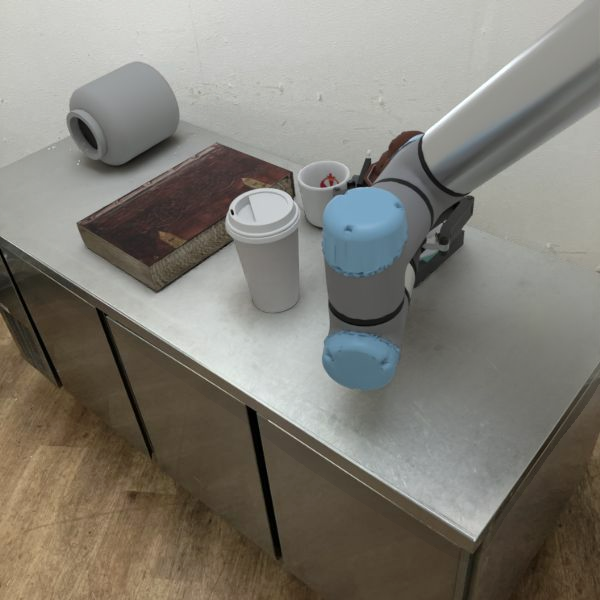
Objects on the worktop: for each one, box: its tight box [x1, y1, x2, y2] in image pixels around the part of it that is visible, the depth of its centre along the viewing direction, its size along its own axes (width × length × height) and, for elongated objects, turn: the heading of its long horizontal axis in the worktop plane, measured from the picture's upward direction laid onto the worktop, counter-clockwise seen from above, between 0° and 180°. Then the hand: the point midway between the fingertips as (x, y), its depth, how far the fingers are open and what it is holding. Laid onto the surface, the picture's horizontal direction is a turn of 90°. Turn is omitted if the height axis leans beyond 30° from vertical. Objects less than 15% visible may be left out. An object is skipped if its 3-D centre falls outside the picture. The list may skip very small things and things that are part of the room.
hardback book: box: [76, 142, 297, 292], centre depth 102 cm, size 29×19×5 cm, turn 137°
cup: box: [296, 160, 352, 228], centre depth 98 cm, size 11×8×8 cm
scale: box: [413, 221, 465, 289], centre depth 93 cm, size 12×12×3 cm
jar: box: [47, 60, 196, 167], centre depth 117 cm, size 19×15×25 cm
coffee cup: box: [225, 188, 303, 314], centre depth 84 cm, size 10×10×15 cm
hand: (409, 168), depth 89 cm, fingers closed on ice cream bowl, 11 cm apart
